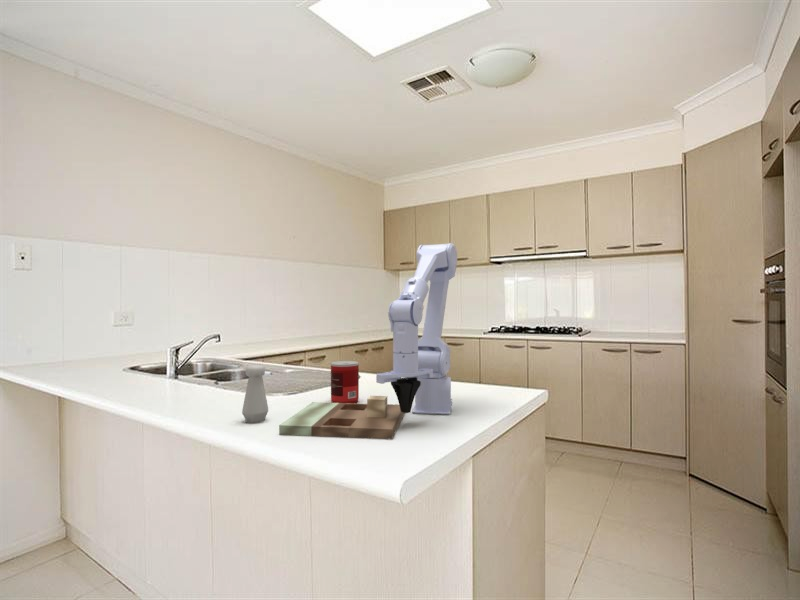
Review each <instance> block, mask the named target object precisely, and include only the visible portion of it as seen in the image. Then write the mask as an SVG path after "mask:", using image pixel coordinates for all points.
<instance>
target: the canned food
mask: <svg viewBox="0 0 800 600" xmlns="http://www.w3.org/2000/svg"><path fill="white" fill-rule="evenodd" d="M359 366H360V365H359V362H358V361H354V360H340V361H339V360H338V361H332V362H331V363H330V400H331V403H358V402H359V395H360V394H359V389H360V388H359V387H360V385H359V383H360V382H359V375H360V374H359V371H360V370H359Z"/></svg>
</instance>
